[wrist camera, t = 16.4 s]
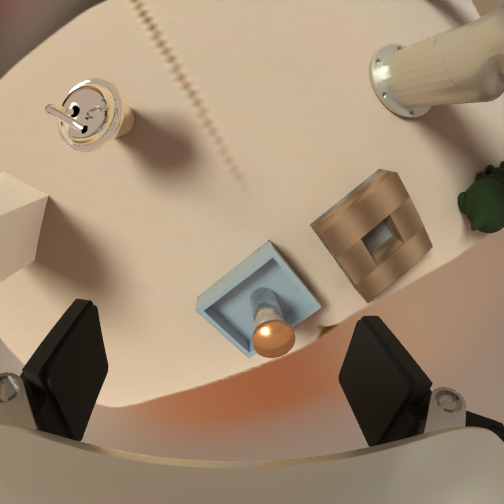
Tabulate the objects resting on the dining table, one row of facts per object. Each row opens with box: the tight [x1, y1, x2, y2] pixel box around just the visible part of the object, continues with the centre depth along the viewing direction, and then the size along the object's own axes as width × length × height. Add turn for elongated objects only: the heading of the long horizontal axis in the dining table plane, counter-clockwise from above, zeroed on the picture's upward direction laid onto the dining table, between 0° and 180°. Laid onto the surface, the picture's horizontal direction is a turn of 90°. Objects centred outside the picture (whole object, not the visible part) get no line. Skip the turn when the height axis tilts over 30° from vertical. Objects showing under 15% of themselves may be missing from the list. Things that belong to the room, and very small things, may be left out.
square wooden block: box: [310, 169, 433, 303], centre depth 41 cm, size 14×14×5 cm
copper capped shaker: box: [250, 287, 295, 358], centre depth 40 cm, size 5×5×11 cm
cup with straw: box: [45, 78, 134, 152], centre depth 25 cm, size 8×9×20 cm
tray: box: [196, 240, 321, 358], centre depth 44 cm, size 14×12×4 cm
